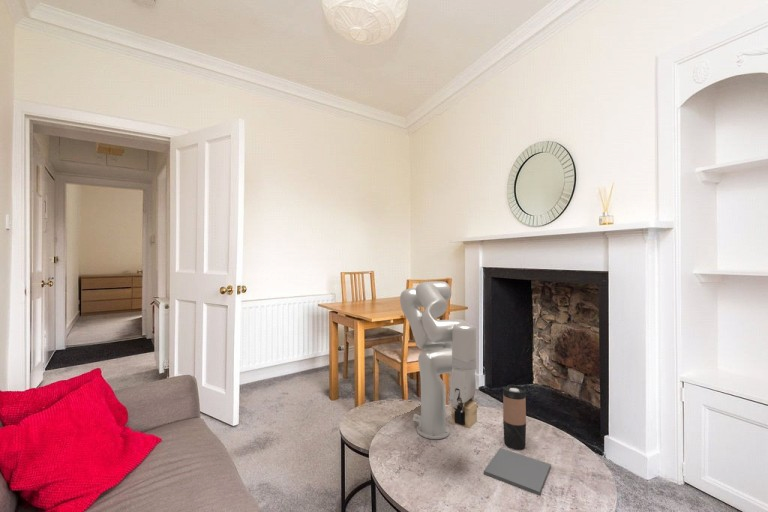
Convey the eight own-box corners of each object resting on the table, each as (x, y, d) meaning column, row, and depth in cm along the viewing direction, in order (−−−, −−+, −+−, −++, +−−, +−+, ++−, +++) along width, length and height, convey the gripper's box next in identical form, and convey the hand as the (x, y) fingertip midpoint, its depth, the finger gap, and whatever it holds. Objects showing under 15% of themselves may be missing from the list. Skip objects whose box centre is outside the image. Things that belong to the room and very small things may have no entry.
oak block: (451, 423, 106) (451, 403, 106) (459, 416, 111) (459, 397, 111) (469, 428, 102) (469, 408, 102) (476, 421, 107) (476, 402, 107)
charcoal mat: (483, 474, 103) (483, 470, 103) (500, 450, 116) (500, 447, 116) (539, 495, 94) (539, 491, 94) (550, 467, 107) (550, 464, 107)
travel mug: (528, 451, 115) (527, 393, 116) (505, 449, 117) (504, 391, 117) (523, 440, 123) (523, 385, 123) (501, 438, 124) (501, 383, 125)
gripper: (463, 355, 116) (464, 407, 115) (440, 367, 102) (441, 427, 102) (485, 358, 111) (485, 413, 111) (464, 372, 97) (464, 434, 97)
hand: (464, 419), depth 106 cm, fingers closed on oak block, 6 cm apart
